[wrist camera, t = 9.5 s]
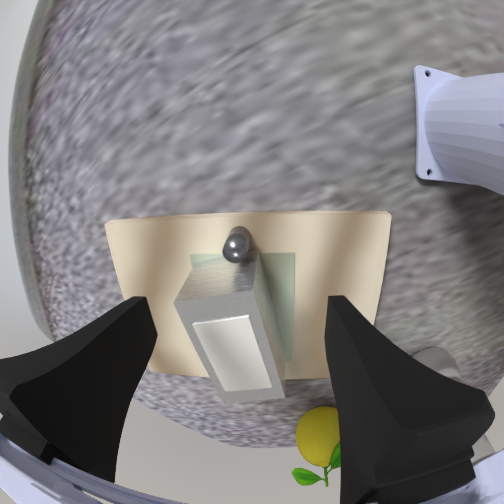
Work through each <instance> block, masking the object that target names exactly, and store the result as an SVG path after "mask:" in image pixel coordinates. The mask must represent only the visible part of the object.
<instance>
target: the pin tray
mask: <svg viewBox="0 0 504 504" xmlns="http://www.w3.org/2000/svg"><path fill="white" fill-rule="evenodd" d="M390 225H391V215H390V214H389V213H388V212H386V211H272V212H238V213H213V214H193V215H175V216H159V217H145V218H131V219H119V220H111V221H109V222H107V223H106V224H105V229H106V233H107V238H108V242H109V246H110V250H111V254H112V258H113V262H114V266H115V270H116V273H117V277H118V280H119V284H120V287H121V291H122V294H123V297H124V300H127V299H129V298H131V297H133V296H145V297H146V298H147V301H148V305H149V308H150V311H151V314H152V318H153V321H154V324H155V327H156V330H157V333H158V337H157V340H156V344H155V347H154V350H153V353H152V356H151V358H150V360H149V362H148V367H149V369H150V371H154V372H162V373H170V374H179V375H188V376H199V377H209V375H208V373H207V371H206V369H205V367H204V365H203V364H202V362H201V360H200V358H199V356H198V354H197V352H196V350H195V348H194V346H193V344H192V342H191V340H190V338H189V336H188V334H187V332H186V329H185V327H184V325H183V323H182V321H181V319H180V317H179V315H178V312H177V310H176V308H175V306H174V304H173V302H174V301H175V299H176V297H177V295H178V293H179V291H180V290H181V288H182V286H183V284H184V282H185V281H186V279H187V277H188V275H189V274H190V272H191V270H192V268H193V267H194V265H195V263H196V262H199V261H204V260H209V259H214V258H218V257H223V256H224V258H225V259H226V260H227V261H229V262H231V263H240V262H242V261H243V260H244V259H245V258H246V256H247V252H248V251H253V250H258V249H259V252H260V256H261V260H262V264H263V267H264V271H265V275H266V279H267V283H268V286H269V290H270V294H271V298H272V302H273V305H274V309H275V313H276V317H277V321H278V324H279V328H280V332H281V336H282V340H283V344H284V347H285V379H317V378H330V373H329V369H328V364H327V360H326V350H325V340H324V334H325V325H326V315H327V304H328V296H334V295H344V296H345V297H346V298H347V299H348V300H349V301H350V302H351V303H352V304H353V305H354V306H355V307H356V308H357V309H358V311H359V312H360V313H361V314H362V315H363V316H364V317H365V318H366V319H367V320H368V321H369V322H370V323H371V324H372V325H374V320H375V316H376V311H377V307H378V302H379V297H380V292H381V286H382V281H383V275H384V269H385V263H386V256H387V249H388V242H389V234H390Z"/></svg>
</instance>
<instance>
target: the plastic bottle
mask: <svg viewBox="0 0 504 504" xmlns="http://www.w3.org/2000/svg"><path fill="white" fill-rule="evenodd" d="M411 357H413V358H414V359H416V360H417V361H419V362H421V363H422V364H424V365H426V366H427V367H429V368H431V369H432V370H434V371H436V372H438V373H440V374H442V375H444V376H446V377H449V378H451V379H453V380H455V381H457V382H460V383H462V381H461V375H460V371H459V368H458V366H457V363H456V361H455V359H454V358H453V357H452V356H451V355H450V353H449V352H448V351H446V350H444V349H441V348H437V347H431V348H426V349H423V350H421V351H419V352H417V353H415V354H414V355H412V356H411ZM472 447H473V450H474V453H475V454H474V457H473V458H471V462H472V465H475V464H476V463H478V462H479V461H481V460H483V459H485V458H487V457H489V456H491V455H493V454H494V453H495V450H494V448H493V447H492V445H491V443H490V442H489V440H488V439H487V437H486V435H485V434H483V435H482V437H481V438H480V439H479V440H478V441H477V442H476V443H475V444H474V445H473V446H472Z"/></svg>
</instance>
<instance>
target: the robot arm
mask: <svg viewBox="0 0 504 504" xmlns="http://www.w3.org/2000/svg"><path fill="white" fill-rule="evenodd" d="M425 71H426V72H427V73H428V77H427V76H426V75H425ZM414 82H415V96H416V121H417V149H416V175H417V176H418V177H419V178H421V179H427V180H437V181H447V182H456V183H464V184H472V185H479V186H482V187H484V188H487V189H489V190H491V191H494V192H496V193H498V194H501V195H503V196H504V73H495V74H487V75H480V76H473V77H466V78H462V77H459V76H456V75H453V74H450V73H446V72H443V71H440V70H436V69H432V68H428V67H424V66H416V67H415V68H414ZM428 169H429V170H430V174H429V175H427V170H428ZM157 337H158V333H157V330H156V327H155V324H154V321H153V318H152V314H151V311H150V308H149V305H148V301H147V298H146V297H145V296H133V297H131V298H129V299H127V300H125V301H124V302H122V303H120V304H119V305H117V306H116V307H114V308H113V309H111V310H110V311H108V312H107V313H105V314H103V315H102V316H100V317H99V318H97V319H96V320H94V321H93V322H91V323H89V324H88V325H86V326H84V327H83V328H81V329H79V330H78V331H76V332H74V333H73V334H71V335H69V336H67V337H65V338H63V339H61V340H59V341H57V342H55V343H52V344H50V345H47V346H45V347H42V348H40V349H37V350H35V351H32V352H29V353H25V354H22V355H18V356H14V357H10V358H4V359H0V413H1V414H2V415H3V417H2V418H1V420H0V487H1V488H2V489H3V490H4V491H5V492H6V493H7V494H8V495H9V496H10V497H11V498H12V499H13V500H14V501H15V502H17V504H102V503H101V502H99V501H98V500H96V499H94V498H92V497H90V496H89V495H87V494H85V493H83V491H85V492H87V493H90V494H92V495H94V496H96V497H99V498H101V499H104V500H106V501H109V502H111V503H114V504H187V503H181V502H177V501H172V500H168V499H164V498H160V497H155V496H152V495H148V494H145V493H141V492H138V491H134V490H131V489H128V488H125V487H122V486H119V485H116V484H114V482H115V472H116V462H117V455H118V449H119V443H120V438H121V434H122V429H123V426H124V421H125V418H126V415H127V411H128V408H129V405H130V402H131V399H132V397H133V394H134V392H135V390H136V388H137V386H138V384H139V382H140V379H141V377H142V375H143V373H144V371H145V369H146V367H147V365H148V362H149V360H150V358H151V356H152V353H153V350H154V347H155V344H156V340H157ZM324 340H325V350H326V360H327V364H328V369H329V373H330V378H331V382H332V387H333V391H334V396H335V400H336V405H337V411H338V420H339V434H340V454H341V491H340V504H504V449H502V450H500V451H498V452H496V453H494V454H493V455H491V456H489V457H487V458H485V459H483V460H481V461H479V462H478V463H476V464H475V465H472V462H471V458H473V457H474V454H475V453H474V450H473V447H472V446H473V445H474V444H475V443H476V442H477V441H478V440H479V439H480V438H481V437H482V435H483V434H484V433H485V432H486V431H487V430H488V429H489V427H490V426H491V425H492V423H493V420H494V418H495V412H494V410H493V408H492V406H491V404H490V402H489V400H488V398H487V396H486V394H485V392H484V391H483V390H480V389H477V388H474V387H471V386H468V385H466V384H463V383H460V382H457V381H455V380H453V379H451V378H449V377H446V376H444V375H442V374H440V373H438V372H436V371H434V370H432V369H431V368H429V367H427V366H426V365H424V364H422V363H421V362H419V361H417V360H416V359H414V358H413V357H411V356H410V355H408V354H407V353H405V352H404V351H403V350H401V349H400V348H399V347H397V346H396V345H395V344H393V343H392V342H391V341H390V340H389V339H387V338H386V337H385V336H384V335H383V334H382V333H381V332H379V331H378V330H377V329H376V328H375V327H374V326H373V325H372V324H371V323H370V322H369V321H368V320H367V319H366V318H365V317H364V316H363V315H362V314H361V313H360V312H359V311H358V309H357V308H356V307H355V306H354V305H353V304H352V303H351V302H350V301H349V300H348V299H347V298H346V297H345V296H344V295H334V296H328V304H327V315H326V325H325V334H324ZM82 490H83V491H82Z"/></svg>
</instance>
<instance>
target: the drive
mask: <svg viewBox="0 0 504 504" xmlns="http://www.w3.org/2000/svg"><path fill="white" fill-rule="evenodd" d="M173 304H174V306H175V308H176V310H177V312H178V315H179V317H180V319H181V321H182V323H183V325H184V327H185V329H186V332H187V334H188V336H189V338H190V340H191V342H192V344H193V346H194V348H195V350H196V352H197V354H198V356H199V358H200V360H201V362H202V364H203V365H204V367H205V369H206V371H207V373H208V375H209V377H210V379H211V380H212V382H213V384H214V386H215V388H216V390H217V391H218V393H219V395H220V397H221V398H222V400H223V402H224V403H236V402H251V401H262V400H272V399H281V398H285V347H284V344H283V340H282V336H281V332H280V328H279V324H278V321H277V317H276V313H275V309H274V305H273V302H272V298H271V294H270V290H269V286H268V283H267V279H266V275H265V271H264V267H263V264H262V260H261V256H260V252H259V249H258V250H253V251H248V252H247V256H246V258H245V259H244V260H243V261H242V262H240V263H231V262H229V261H227V260H226V259H225V258H224V256H223V257H218V258H214V259H209V260H204V261H199V262H196V263H195V265H194V267H193V268H192V270H191V272H190V274H189V275H188V277H187V279H186V281H185V282H184V284H183V286H182V288H181V290H180V291H179V293H178V295H177V297H176V299H175V301H174V302H173Z"/></svg>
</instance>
